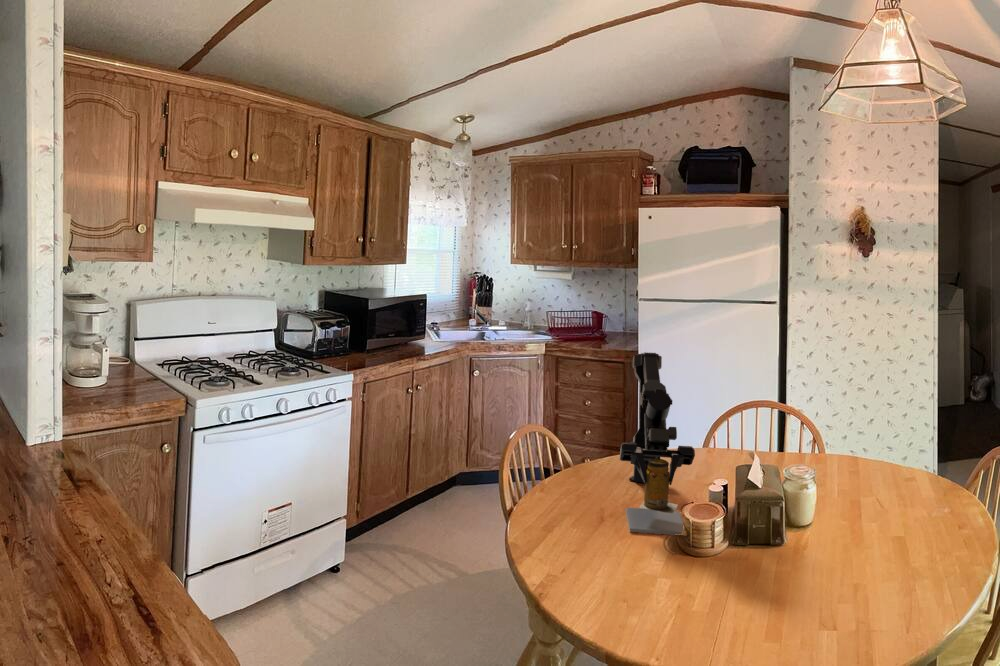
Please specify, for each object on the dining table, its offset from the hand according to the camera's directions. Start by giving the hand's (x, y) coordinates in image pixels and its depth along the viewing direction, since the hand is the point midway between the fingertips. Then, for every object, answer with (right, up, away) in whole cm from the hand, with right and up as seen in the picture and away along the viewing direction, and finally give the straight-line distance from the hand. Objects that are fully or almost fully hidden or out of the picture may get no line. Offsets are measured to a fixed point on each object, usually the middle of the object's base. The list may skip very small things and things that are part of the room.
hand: (658, 483), depth 173 cm
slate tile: (0, -11, +3) cm, 11 cm away
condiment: (+1, -7, +2) cm, 7 cm away
